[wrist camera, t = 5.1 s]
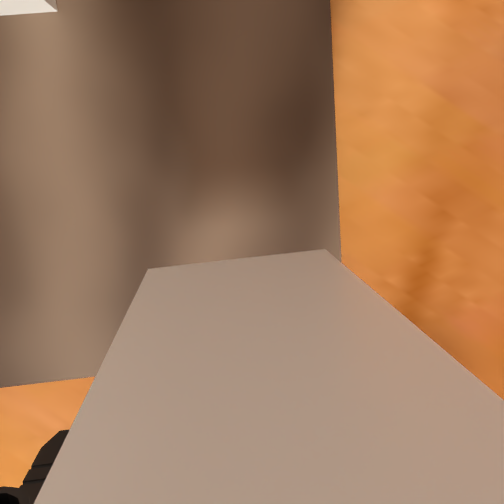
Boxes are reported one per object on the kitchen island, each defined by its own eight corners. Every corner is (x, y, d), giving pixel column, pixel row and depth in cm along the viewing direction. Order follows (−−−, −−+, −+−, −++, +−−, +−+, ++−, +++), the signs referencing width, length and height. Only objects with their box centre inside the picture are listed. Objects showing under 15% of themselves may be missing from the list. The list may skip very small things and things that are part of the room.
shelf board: (1, 367, 22) (-35, 405, 19) (-135, -190, 16) (-217, -268, 13) (333, 329, 23) (352, 359, 19) (307, -212, 17) (327, -290, 14)
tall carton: (175, 457, 14) (107, 1156, 4) (148, 269, 13) (-47, 667, 3) (343, 433, 14) (627, 1024, 5) (333, 248, 13) (706, 539, 3)
